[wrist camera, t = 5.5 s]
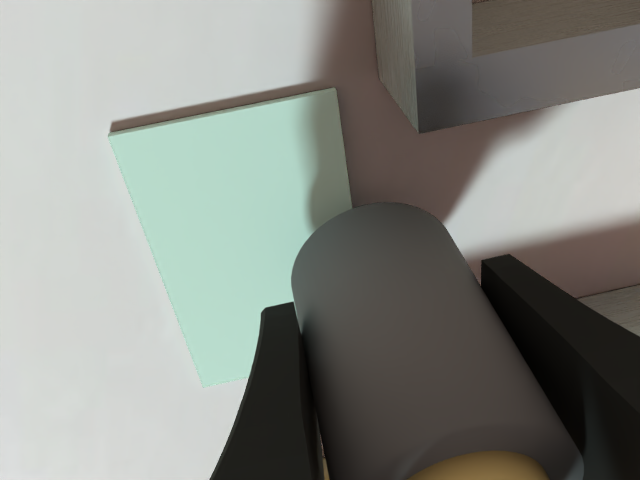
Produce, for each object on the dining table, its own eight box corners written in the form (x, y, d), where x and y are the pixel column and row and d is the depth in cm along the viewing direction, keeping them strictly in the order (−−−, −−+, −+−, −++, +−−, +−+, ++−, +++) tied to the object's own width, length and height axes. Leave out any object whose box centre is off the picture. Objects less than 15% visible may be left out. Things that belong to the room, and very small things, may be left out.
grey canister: (450, 183, 13) (626, 442, 8) (458, 312, 16) (600, 581, 10) (273, 227, 13) (327, 521, 8) (309, 351, 16) (369, 644, 10)
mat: (334, 87, 13) (336, 90, 13) (370, 345, 18) (371, 350, 18) (108, 133, 13) (107, 136, 13) (203, 382, 18) (203, 387, 17)
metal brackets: (758, -158, 12) (903, -156, 9) (652, 309, 19) (719, 380, 17) (364, -84, 12) (408, -61, 9) (405, 365, 19) (436, 446, 16)
